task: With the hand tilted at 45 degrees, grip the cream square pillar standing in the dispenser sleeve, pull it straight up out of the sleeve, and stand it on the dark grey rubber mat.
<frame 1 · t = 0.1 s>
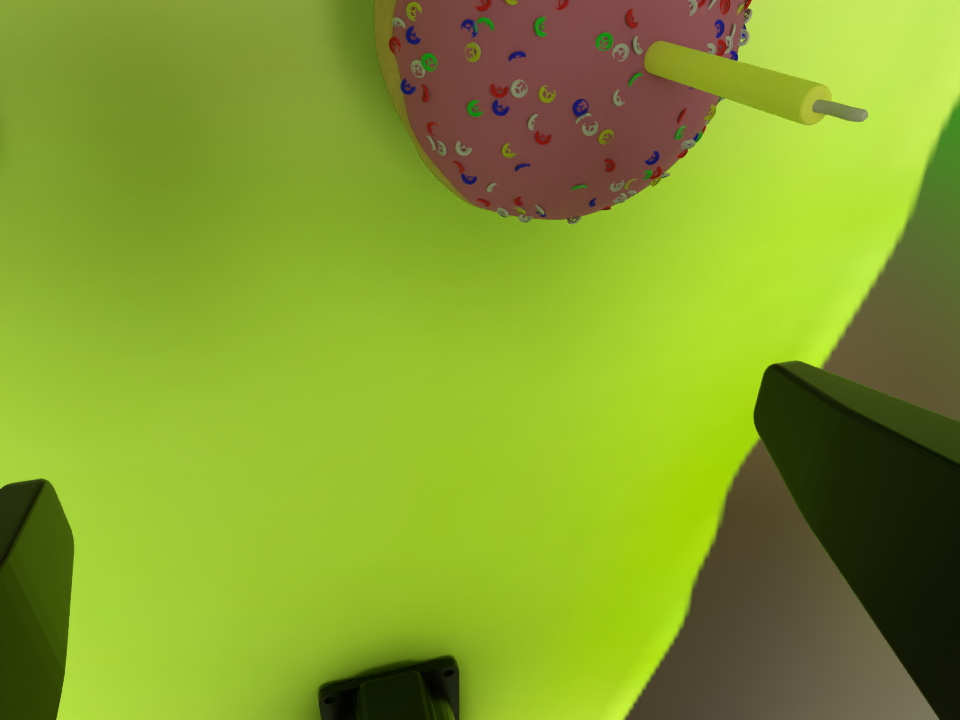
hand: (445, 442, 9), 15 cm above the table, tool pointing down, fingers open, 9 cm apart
cupcake: (507, 11, 21), on the table
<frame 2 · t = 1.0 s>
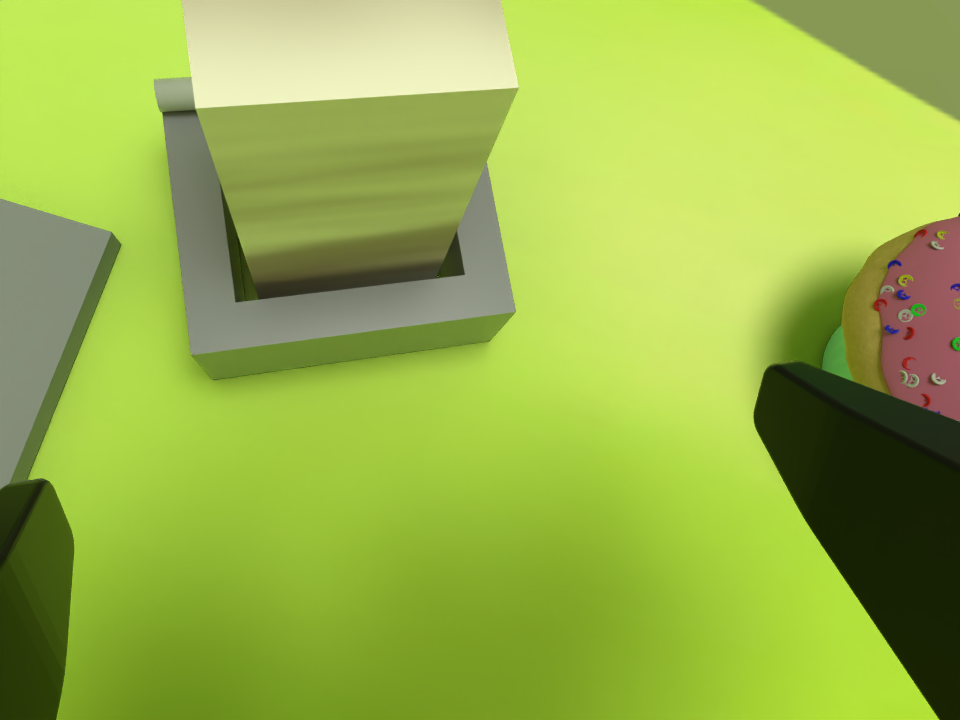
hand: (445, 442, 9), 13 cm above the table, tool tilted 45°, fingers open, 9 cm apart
dispenser sleeve: (338, 244, 24), on the table
cream square pillar: (338, 245, 24), resting in dispenser sleeve
cupcake: (875, 384, 26), on the table
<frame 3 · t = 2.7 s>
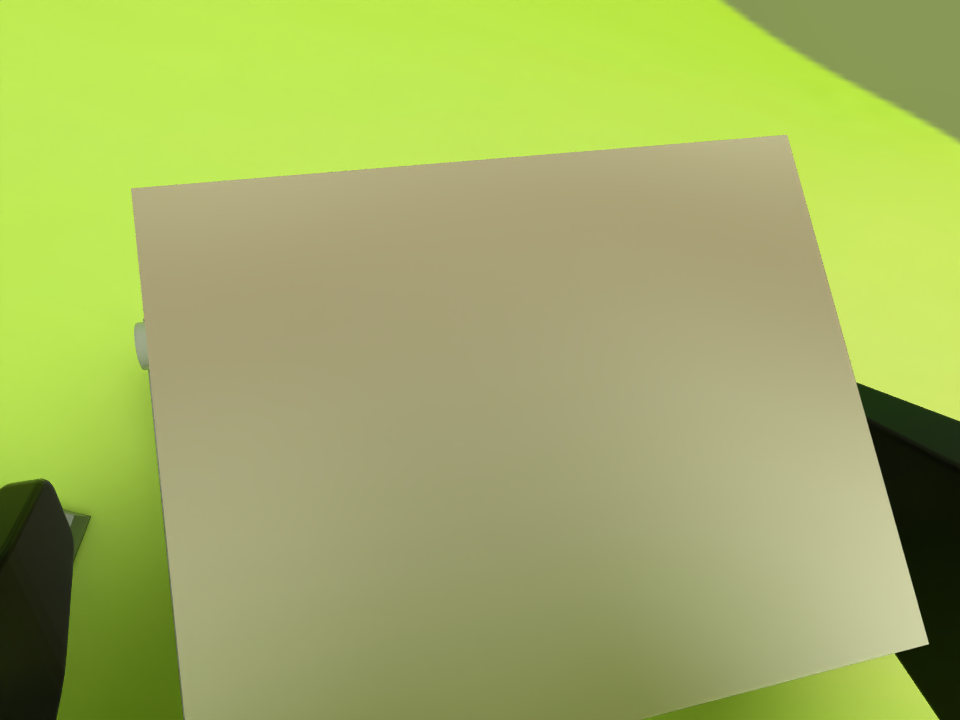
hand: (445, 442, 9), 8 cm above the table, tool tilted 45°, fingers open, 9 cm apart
dispenser sleeve: (399, 497, 17), on the table
cream square pillar: (399, 497, 17), resting in dispenser sleeve
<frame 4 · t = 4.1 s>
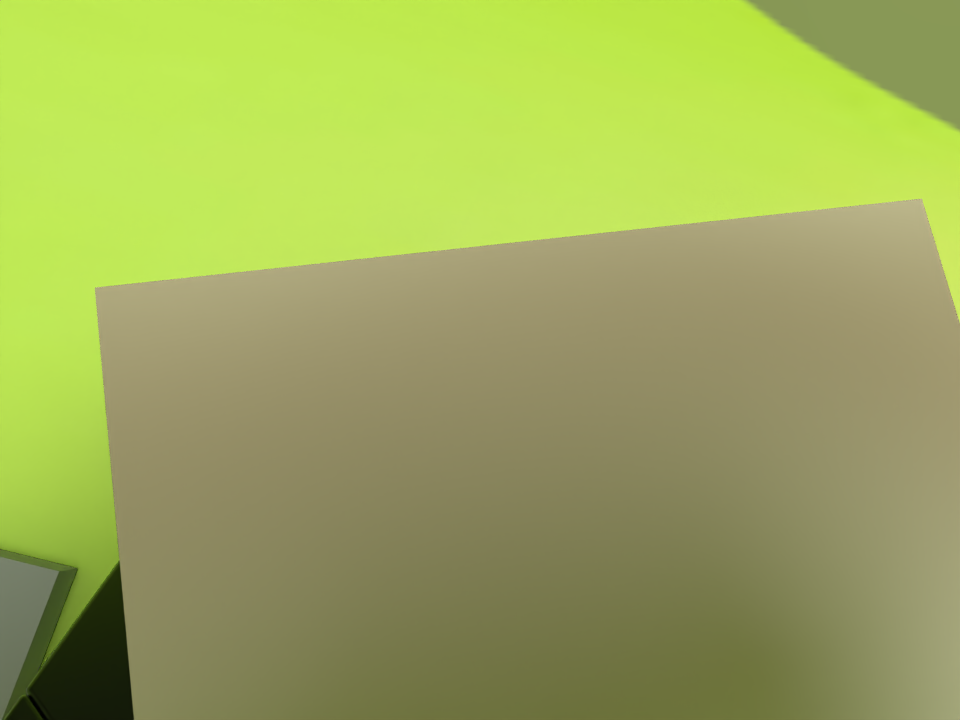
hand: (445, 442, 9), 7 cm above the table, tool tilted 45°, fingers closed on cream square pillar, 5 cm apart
cream square pillar: (410, 542, 16), resting in dispenser sleeve, touching gripper
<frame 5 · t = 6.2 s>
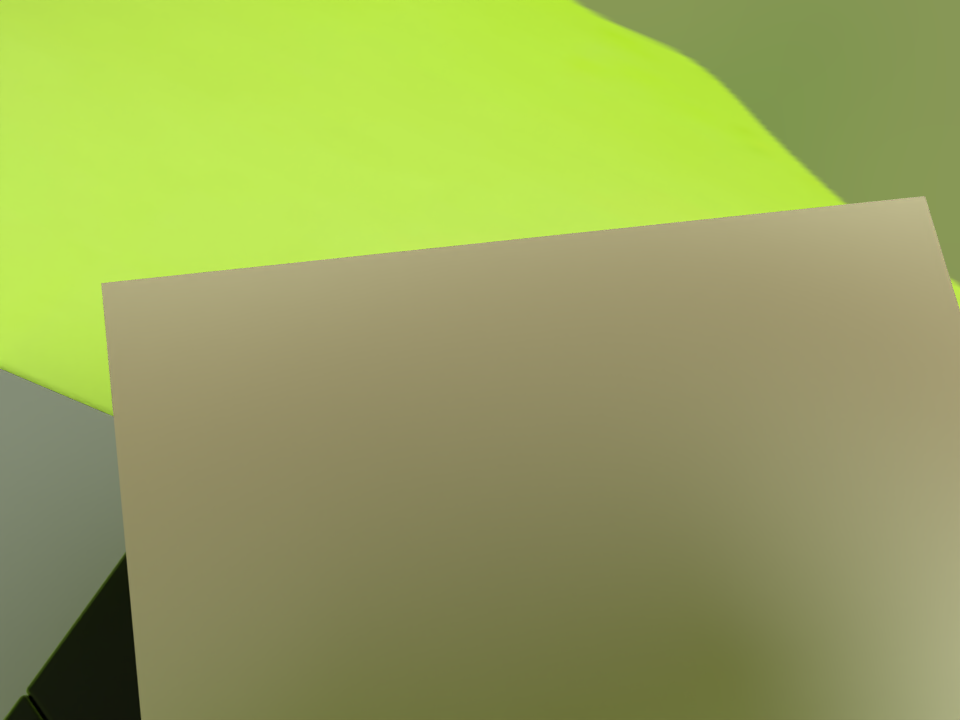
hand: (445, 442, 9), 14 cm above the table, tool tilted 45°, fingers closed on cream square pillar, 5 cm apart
cream square pillar: (412, 541, 16), point 7 cm above the table, touching gripper
rubber mat: (51, 644, 20), on the table
when the fingers open (9 cm above the table, at t = 8.5 s): cream square pillar drops 1 cm, resting on rubber mat.
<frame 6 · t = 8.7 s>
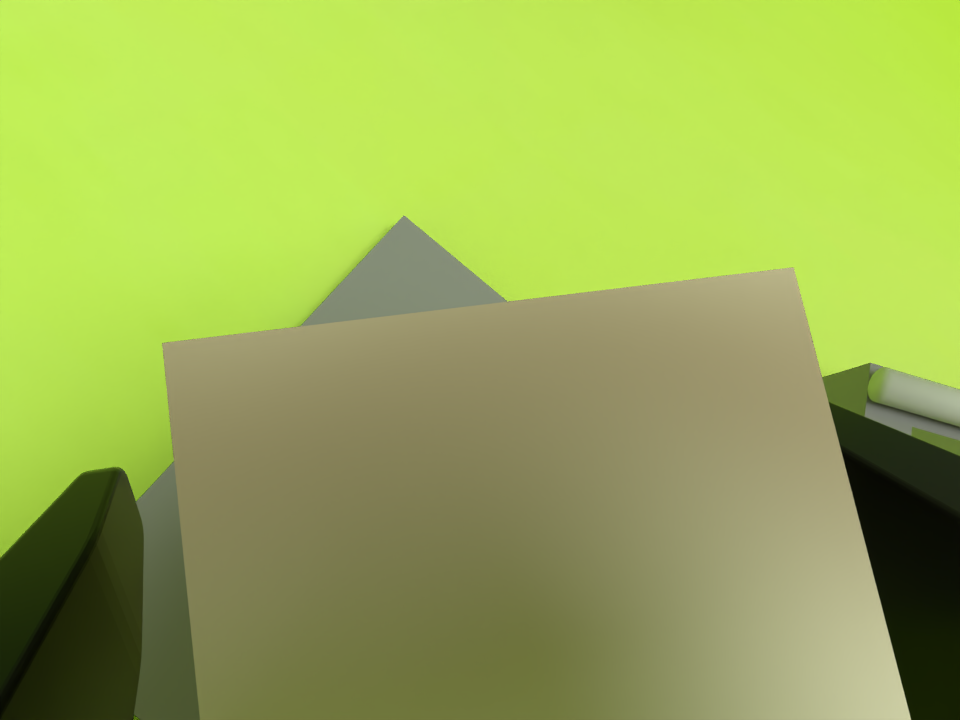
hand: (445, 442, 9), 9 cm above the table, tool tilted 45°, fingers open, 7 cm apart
dispenser sleeve: (906, 561, 20), on the table
cream square pillar: (405, 538, 17), point 1 cm above the table, touching rubber mat
rubber mat: (400, 540, 18), on the table
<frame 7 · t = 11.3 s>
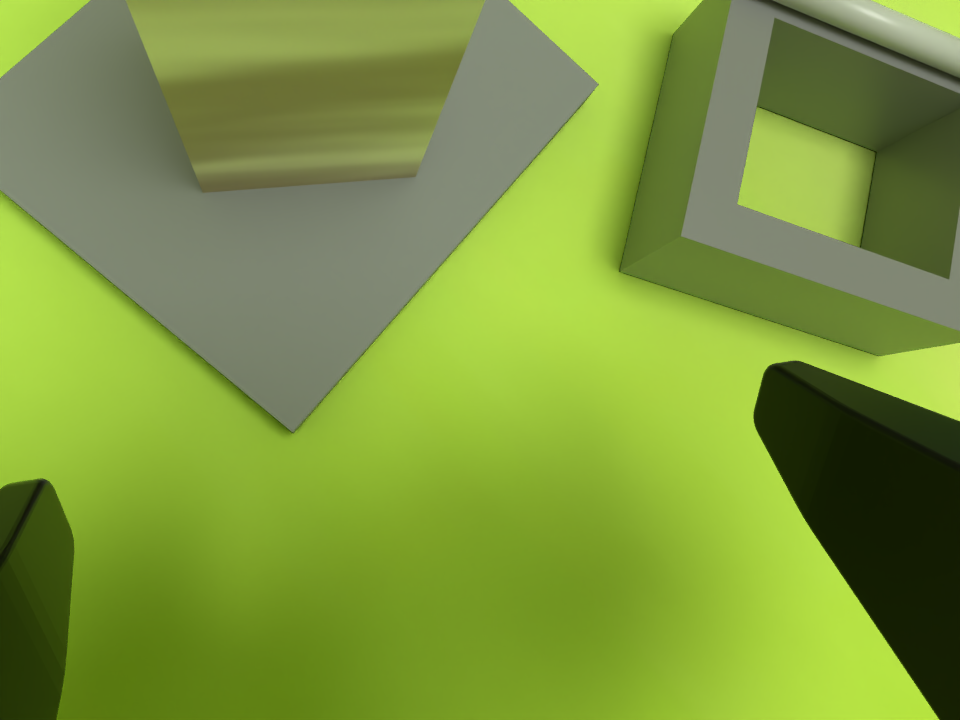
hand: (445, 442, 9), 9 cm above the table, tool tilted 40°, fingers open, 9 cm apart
dispenser sleeve: (777, 195, 22), on the table
cream square pillar: (301, 104, 18), point 1 cm above the table, touching rubber mat
rubber mat: (300, 124, 19), on the table
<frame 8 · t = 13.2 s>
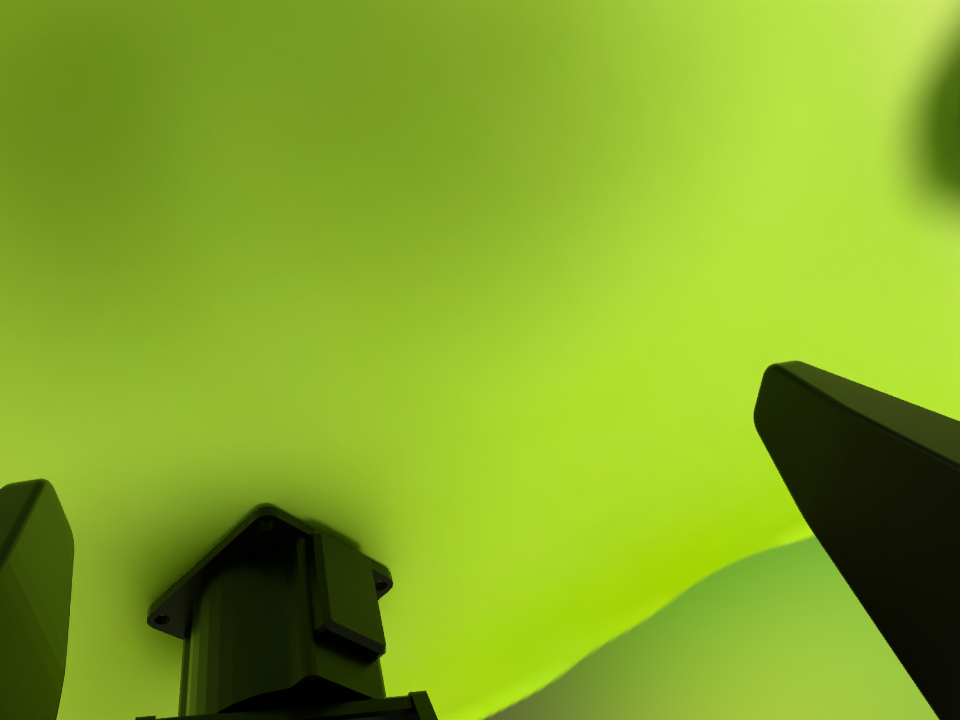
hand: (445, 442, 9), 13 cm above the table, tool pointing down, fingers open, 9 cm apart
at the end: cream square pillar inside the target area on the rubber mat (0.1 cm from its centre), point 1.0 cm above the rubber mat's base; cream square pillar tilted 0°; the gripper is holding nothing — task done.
